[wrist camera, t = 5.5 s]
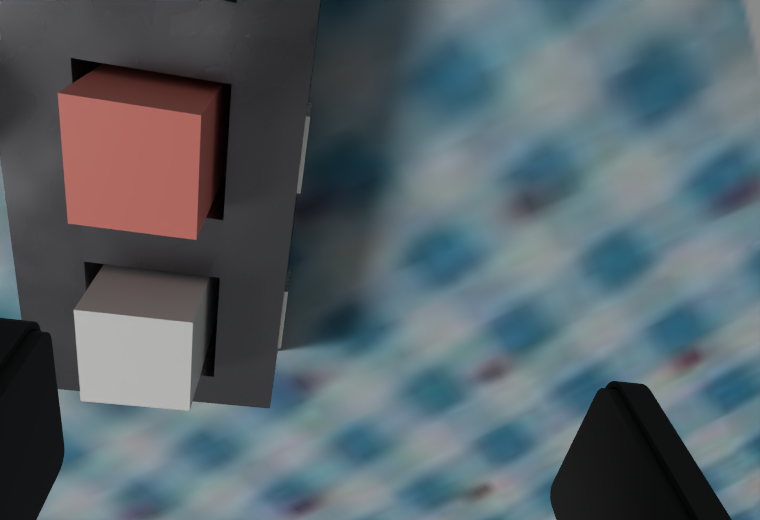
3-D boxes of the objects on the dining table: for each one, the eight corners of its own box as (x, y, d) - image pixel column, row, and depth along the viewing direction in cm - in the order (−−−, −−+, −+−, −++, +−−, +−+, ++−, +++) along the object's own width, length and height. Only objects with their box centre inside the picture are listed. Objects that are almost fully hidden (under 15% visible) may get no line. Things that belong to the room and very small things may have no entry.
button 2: (122, 51, 22) (57, 92, 17) (232, 69, 23) (201, 115, 18) (125, 157, 24) (67, 223, 19) (226, 171, 25) (196, 239, 20)
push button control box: (-5, -493, 16) (-99, -605, 13) (374, -387, 17) (383, -461, 14) (67, 329, 29) (30, 386, 26) (280, 351, 30) (273, 408, 27)
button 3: (126, 230, 26) (73, 309, 21) (221, 242, 27) (192, 322, 21) (128, 310, 28) (80, 400, 23) (216, 319, 29) (189, 410, 23)
